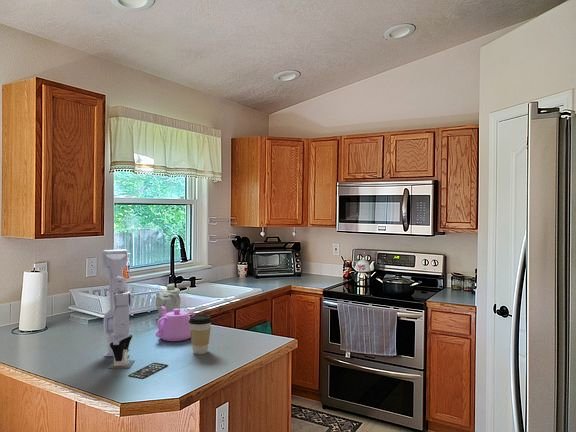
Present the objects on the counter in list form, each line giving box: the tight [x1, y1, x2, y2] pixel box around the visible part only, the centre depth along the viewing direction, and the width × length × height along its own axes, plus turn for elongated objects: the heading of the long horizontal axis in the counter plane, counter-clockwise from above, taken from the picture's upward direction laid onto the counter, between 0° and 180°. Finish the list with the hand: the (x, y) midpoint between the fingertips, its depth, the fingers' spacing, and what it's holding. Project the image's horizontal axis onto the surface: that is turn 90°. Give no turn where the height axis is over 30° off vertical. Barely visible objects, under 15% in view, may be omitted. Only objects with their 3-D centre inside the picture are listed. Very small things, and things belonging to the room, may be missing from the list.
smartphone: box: [127, 362, 169, 380], centre depth 168 cm, size 7×1×15 cm
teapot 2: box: [155, 306, 196, 343], centre depth 212 cm, size 22×22×14 cm
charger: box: [113, 349, 128, 366], centre depth 174 cm, size 4×4×5 cm
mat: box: [107, 359, 135, 370], centre depth 174 cm, size 8×8×1 cm
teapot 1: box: [155, 283, 182, 319], centre depth 249 cm, size 16×15×19 cm
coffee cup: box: [189, 314, 213, 355], centre depth 190 cm, size 10×10×15 cm
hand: (121, 357), depth 174 cm, fingers open, 7 cm apart
